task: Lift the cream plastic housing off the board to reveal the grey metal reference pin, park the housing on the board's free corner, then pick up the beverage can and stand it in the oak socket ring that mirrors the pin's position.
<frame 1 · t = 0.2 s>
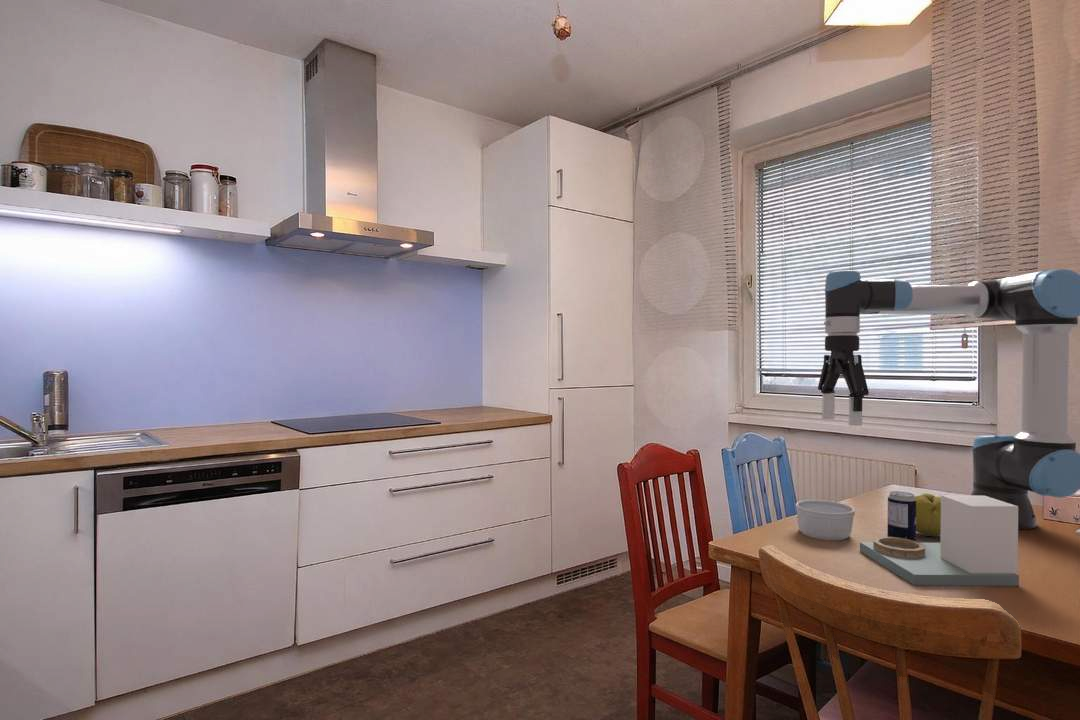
hand: (841, 422, 147), 28 cm above the table, fingers open, 13 cm apart
socket: (898, 559, 130), resting on board
fruit: (928, 536, 148), on the table
board: (932, 567, 126), on the table
beverage can: (901, 546, 140), on the table
housing: (977, 565, 121), point 2 cm above the table, touching board
ramekin: (824, 535, 149), on the table
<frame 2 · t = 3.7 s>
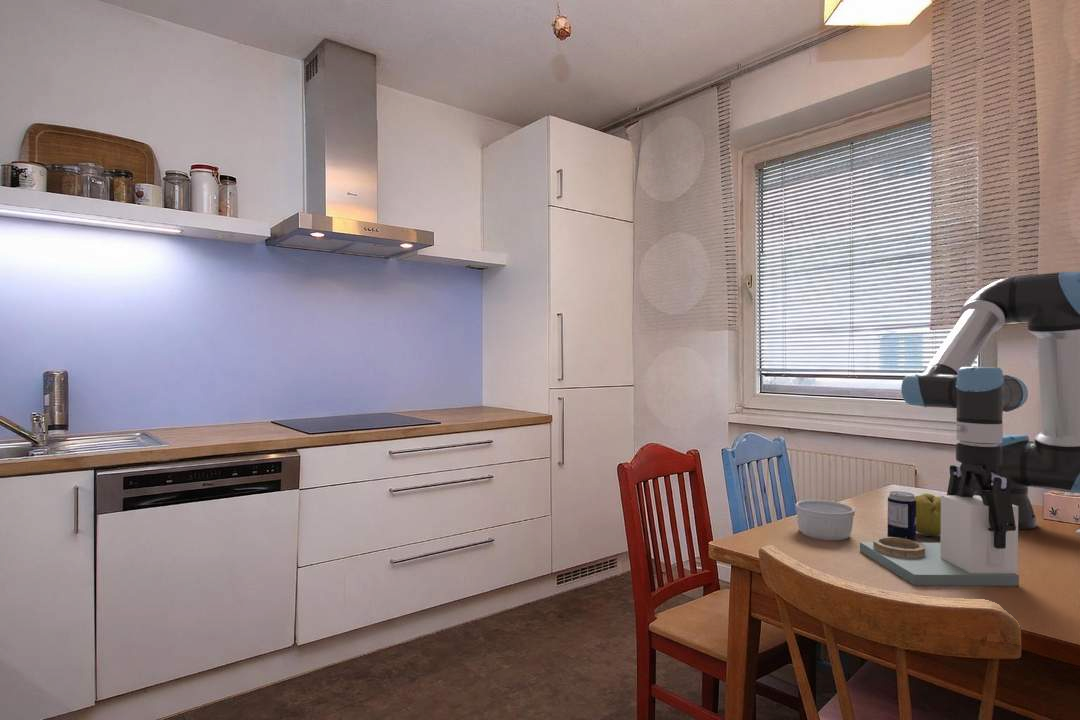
hand: (977, 555, 121), 4 cm above the table, fingers closed on housing, 9 cm apart
housing: (977, 565, 121), point 2 cm above the table, touching board, gripper
everything else where it was.
when the fingers open (5 cm above the table, at t = 18.2 s): housing stays where it is, resting on board.
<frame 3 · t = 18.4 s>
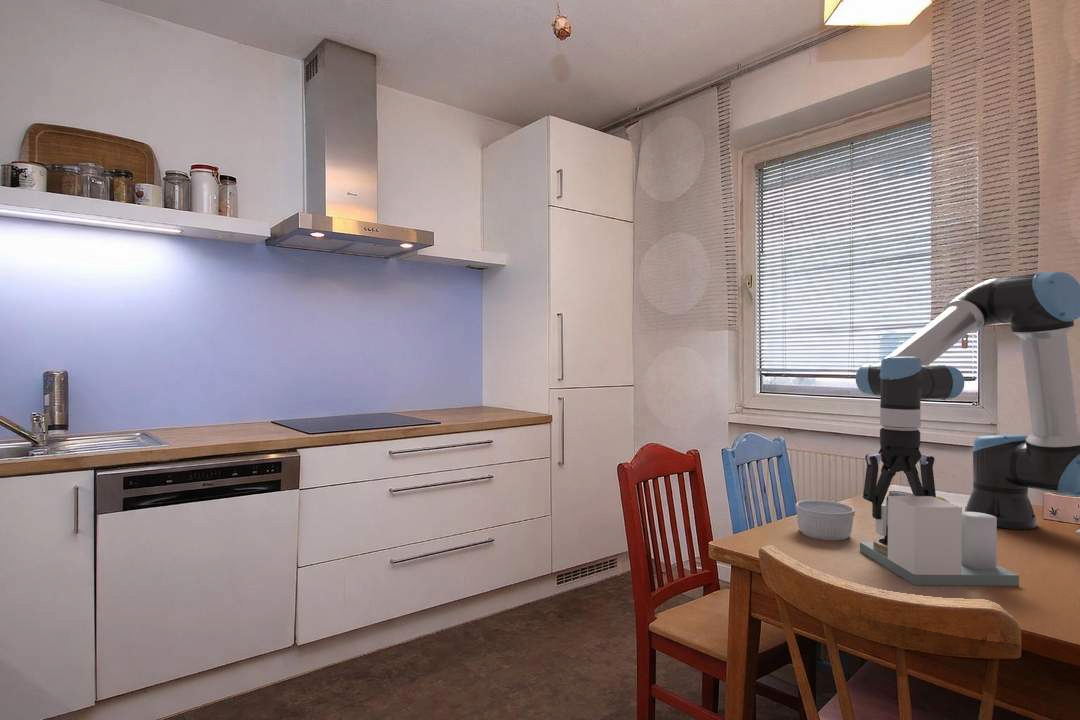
hand: (898, 533, 130), 6 cm above the table, fingers open, 7 cm apart
beverage can: (899, 549, 130), point 2 cm above the table, touching gripper
housing: (923, 566, 120), point 2 cm above the table, touching board
everything else where it was.
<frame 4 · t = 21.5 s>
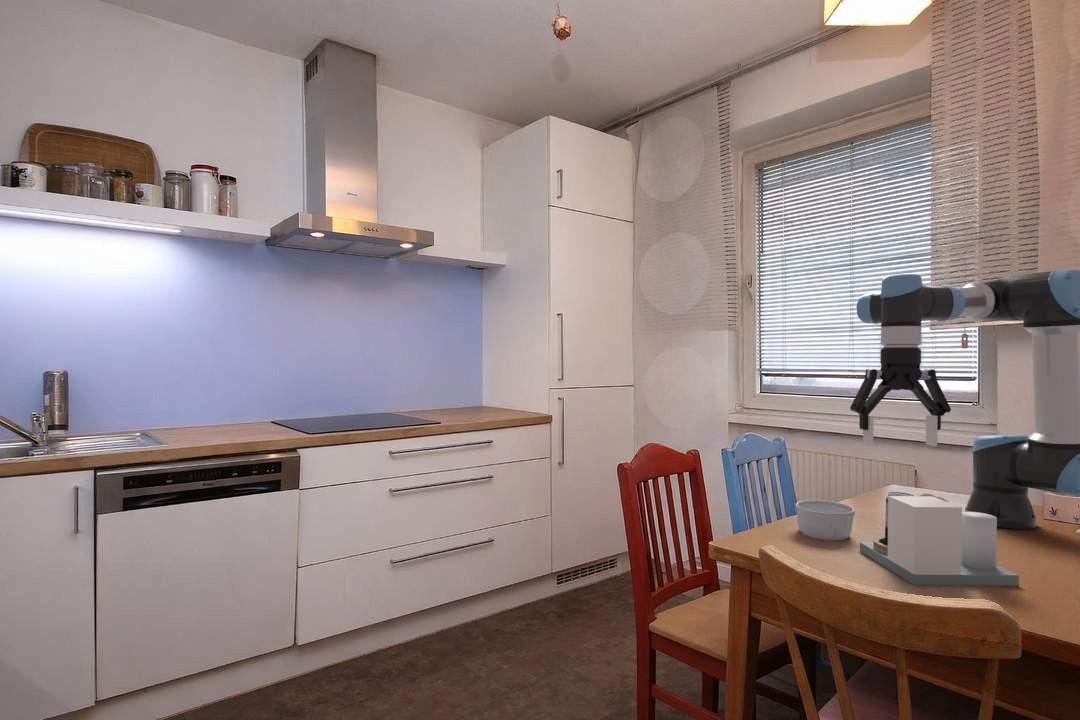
hand: (899, 445, 130), 25 cm above the table, fingers open, 13 cm apart
beverage can: (899, 550, 130), point 2 cm above the table, touching board
everything else where it was.
at the end: beverage can 0.4 cm from the socket (horizontally); beverage can tilted 1°; housing moved 11.5 cm from its start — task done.
